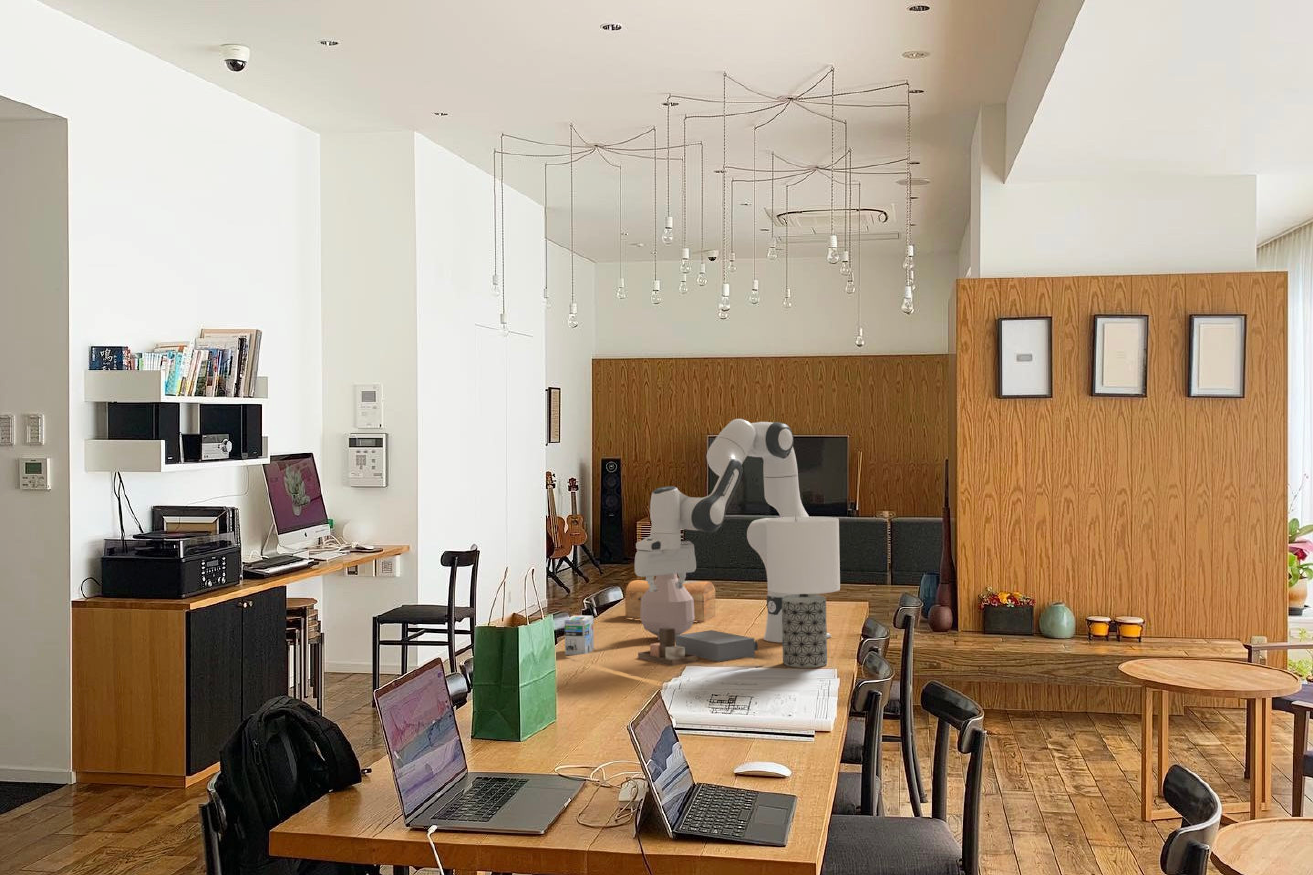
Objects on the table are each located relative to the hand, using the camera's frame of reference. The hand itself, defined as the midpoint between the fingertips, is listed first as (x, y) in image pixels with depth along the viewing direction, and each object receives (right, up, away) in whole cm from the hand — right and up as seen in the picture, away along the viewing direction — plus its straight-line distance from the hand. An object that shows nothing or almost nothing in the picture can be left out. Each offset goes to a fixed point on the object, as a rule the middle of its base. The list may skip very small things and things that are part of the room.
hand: (666, 589), depth 342 cm
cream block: (+3, -20, -3) cm, 21 cm away
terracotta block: (-2, -20, +3) cm, 21 cm away
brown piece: (0, -22, 0) cm, 22 cm away
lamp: (+40, -21, -6) cm, 45 cm away
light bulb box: (-27, -22, +20) cm, 40 cm away
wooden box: (+3, -22, +86) cm, 89 cm away
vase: (+1, -22, +40) cm, 46 cm away
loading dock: (+14, -21, +8) cm, 27 cm away
